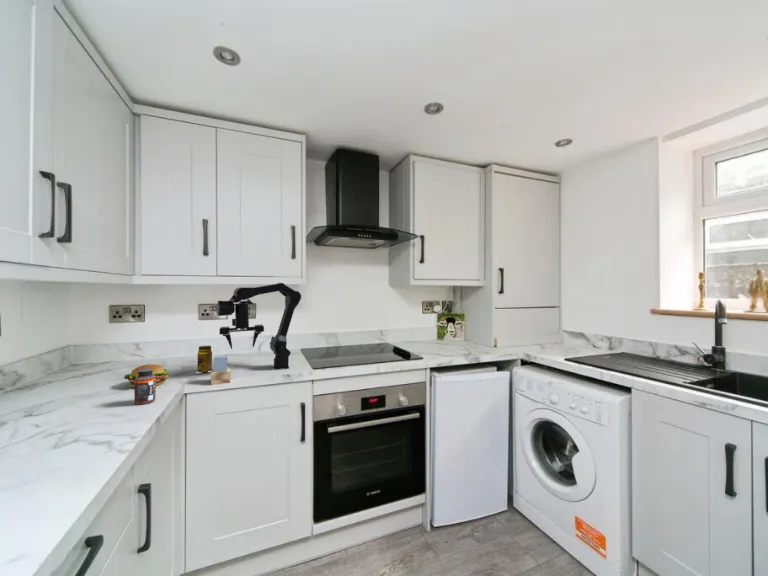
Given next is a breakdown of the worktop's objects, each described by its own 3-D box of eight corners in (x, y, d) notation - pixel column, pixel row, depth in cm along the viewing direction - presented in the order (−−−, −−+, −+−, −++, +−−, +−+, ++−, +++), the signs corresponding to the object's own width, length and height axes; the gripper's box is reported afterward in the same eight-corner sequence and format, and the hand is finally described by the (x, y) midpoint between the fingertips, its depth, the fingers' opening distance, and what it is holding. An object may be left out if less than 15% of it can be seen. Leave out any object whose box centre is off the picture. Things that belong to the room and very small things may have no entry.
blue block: (227, 368, 140) (227, 354, 140) (227, 371, 135) (227, 356, 135) (214, 369, 138) (214, 355, 137) (213, 372, 133) (213, 358, 133)
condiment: (193, 373, 148) (193, 347, 148) (203, 368, 157) (203, 344, 157) (208, 373, 148) (209, 347, 148) (218, 368, 157) (218, 344, 157)
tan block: (228, 378, 141) (228, 367, 141) (230, 383, 135) (230, 371, 135) (210, 381, 138) (210, 369, 138) (211, 385, 132) (211, 373, 132)
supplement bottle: (157, 402, 112) (157, 370, 112) (135, 406, 108) (135, 373, 107) (153, 397, 116) (154, 366, 116) (133, 401, 112) (133, 369, 112)
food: (155, 377, 141) (156, 359, 141) (174, 382, 135) (174, 363, 135) (118, 385, 129) (118, 366, 129) (136, 391, 122) (137, 370, 122)
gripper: (262, 311, 160) (262, 343, 160) (220, 313, 152) (220, 346, 152) (263, 314, 150) (264, 347, 150) (219, 316, 142) (219, 351, 142)
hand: (242, 347), depth 149 cm, fingers open, 9 cm apart
